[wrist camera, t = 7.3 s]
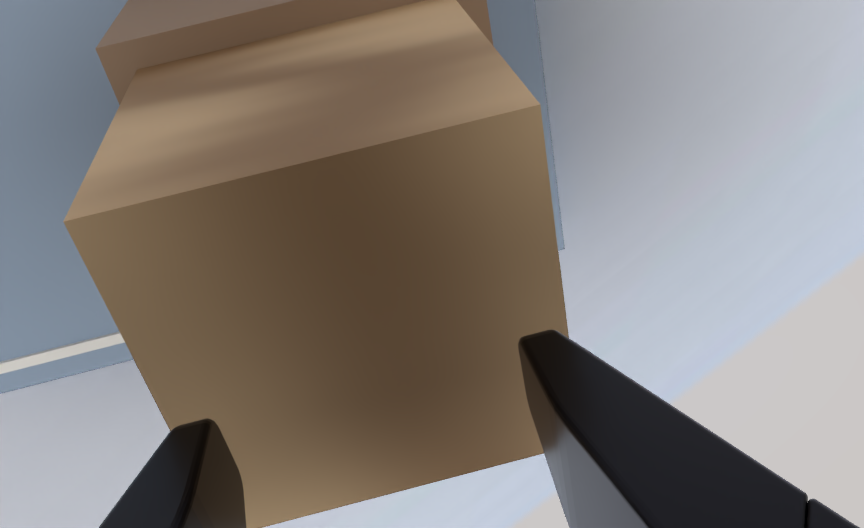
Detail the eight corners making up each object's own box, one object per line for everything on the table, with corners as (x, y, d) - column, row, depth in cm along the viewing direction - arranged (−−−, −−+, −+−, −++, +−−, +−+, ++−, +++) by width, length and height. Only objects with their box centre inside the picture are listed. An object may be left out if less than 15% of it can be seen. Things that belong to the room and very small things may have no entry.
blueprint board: (-13, 375, 22) (-103, 558, 17) (-323, -95, 15) (-624, -31, 10) (553, 231, 22) (634, 364, 17) (488, -281, 16) (588, -311, 11)
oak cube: (239, 323, 15) (224, 537, 11) (137, 69, 12) (63, 221, 8) (496, 258, 15) (581, 443, 11) (451, -6, 12) (540, 104, 8)
